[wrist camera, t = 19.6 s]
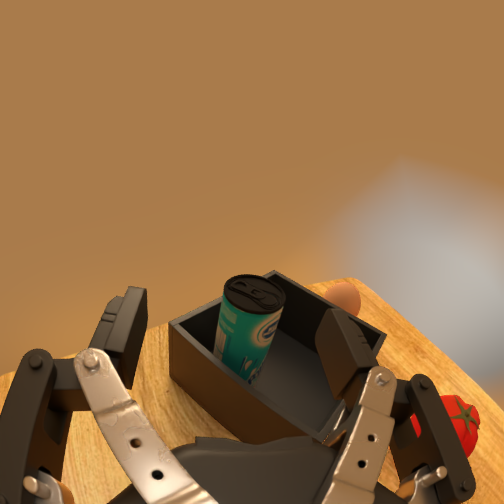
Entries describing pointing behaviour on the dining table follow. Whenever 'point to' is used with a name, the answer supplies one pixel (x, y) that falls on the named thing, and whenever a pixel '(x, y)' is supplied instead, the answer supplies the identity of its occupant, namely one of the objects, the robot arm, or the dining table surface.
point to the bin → (264, 370)
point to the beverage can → (247, 324)
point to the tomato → (459, 421)
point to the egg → (344, 297)
